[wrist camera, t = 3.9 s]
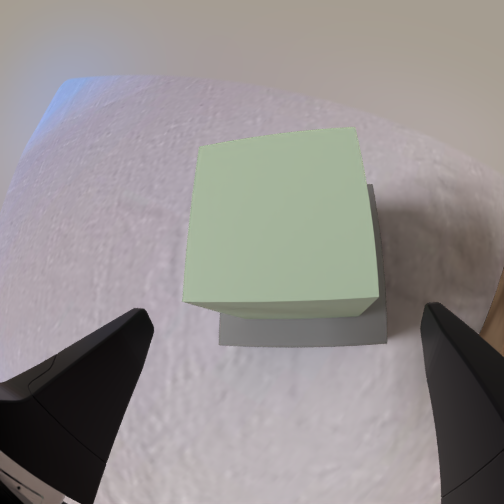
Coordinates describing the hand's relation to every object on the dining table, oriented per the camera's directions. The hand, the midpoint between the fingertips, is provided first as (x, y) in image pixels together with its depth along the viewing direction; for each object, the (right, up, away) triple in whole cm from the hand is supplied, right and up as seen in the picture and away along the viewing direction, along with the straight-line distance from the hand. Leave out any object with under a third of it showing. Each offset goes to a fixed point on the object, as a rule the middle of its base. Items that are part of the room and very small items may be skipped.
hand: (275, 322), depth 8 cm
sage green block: (+2, +1, +7) cm, 8 cm away
